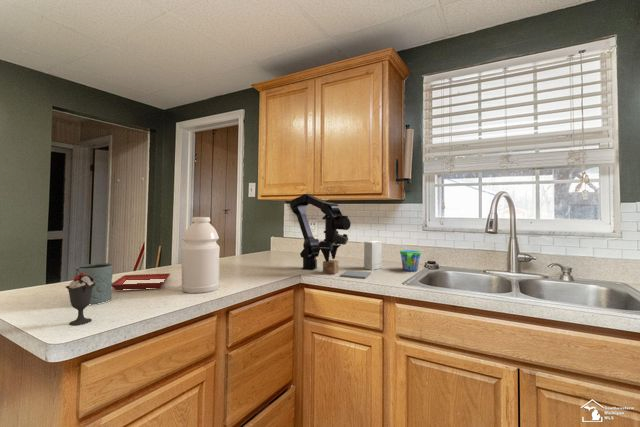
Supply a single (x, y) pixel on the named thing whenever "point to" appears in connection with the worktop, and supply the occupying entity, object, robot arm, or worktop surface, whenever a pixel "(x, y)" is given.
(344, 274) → the slate mat
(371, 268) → the skincare box
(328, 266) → the walnut cube
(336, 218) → the robot arm
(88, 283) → the sundae
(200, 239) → the bottle
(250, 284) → the worktop surface
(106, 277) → the blue-grey pot
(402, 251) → the snack cup
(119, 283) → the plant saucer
